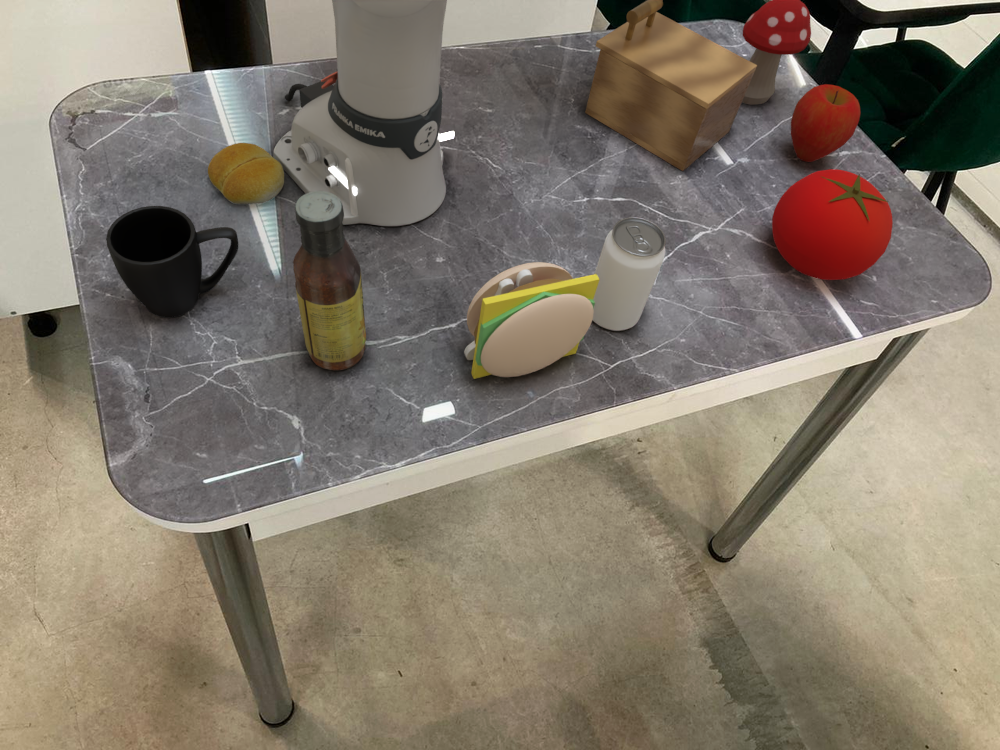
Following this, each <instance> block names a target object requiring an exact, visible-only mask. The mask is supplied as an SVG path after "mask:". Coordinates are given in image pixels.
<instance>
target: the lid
mask: <svg viewBox="0 0 1000 750" xmlns="http://www.w3.org/2000/svg"><path fill="white" fill-rule="evenodd" d="M663 6H664V2H663V0H645V1H643V2H642V3H640V4H639V5H637V6H635V7H634V8H633V9H631V10H629V11H628V12H627V14H626V22H625V23H623V24H622V25H620V26H618V27H617V28H615V29H613V30H612V31H610V32H608V33H607V34H606V35H604V36H603V37H601V38H599V39H598V40H596V42H595V47H596V48H597V49H600V50H603V51H605V52H606V53H608V54H610V55H612V56H613V57H615V58H617V59H619V60H621V61H622V62H624V63H626V64H628V65H629V66H631V67H633V68H635V69H636V70H638V71H640V72H642V73H644V74H645V75H647V76H649V77H651V78H652V79H654V80H656V81H658V82H660V83H661V84H663V85H665V86H667V87H668V88H670V89H672V90H674V91H676V92H677V93H679V94H681V95H683V96H684V97H686V98H688V99H690V100H691V101H693V102H695V103H697V104H699V105H700V106H702V107H704V108H706V109H707V108H709V107H710V106H711V105H712V104H714V103H715V102H716V101H717V100H719V99H720V98H721V97H722V96H724V95H725V94H726V93H727V92H729V91H730V90H731V89H732V88H734V87H735V86H736V85H737V84H739V83H740V82H741V81H742V80H744V79H745V78H746V77H748V76H749V75H750V74H751V73H753V72H754V71H755V70H756V67H757V65H756V64H754V63H752V62H750V61H749V60H748V59H746V58H745V57H743V56H741V55H738V54H737V53H735V52H733V51H731V50H729V49H728V48H726V47H724V46H722V45H720V44H718V43H716V42H714V41H712V40H710V39H709V38H706V37H705V36H703V35H701V34H699V33H697V32H695V31H693V30H692V29H690V28H688V27H686V26H684V25H682V24H681V23H678V22H676V21H675V20H673V19H671V18H669V17H667V16H665V15H663V14H661V13H660V12H658V11H659V10H661V9H662V7H663Z"/></svg>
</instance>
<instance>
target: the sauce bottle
mask: <svg viewBox="0 0 1000 750" xmlns="http://www.w3.org/2000/svg"><path fill="white" fill-rule="evenodd" d="M294 210H295V211H294V212H295V219H296V223H298V225H299V229H300V243H301V245H300V247H299V249H298V250H297V252H296V253H295V254H294V257H293V260H292V265H293V267H292V268H293V274H294V280H295V284H294V287H295V293H296V298H297V303H298V311H299V316H300V321H301V326H302V332H303V337H304V344H305V347H306V350H307V352H308V355H309V357H310V359H311V361H312V362H313V363H314V364H315V365H316V366H318V367H319V368H322V369H324V370H331V371H334V372H335V371H343V370H347V369H349V368H352V367H354V366H355V365H356V364H358V363H359V362H360V361H361V359H362V358H363V356H364V353H365V350H366V342H367V331H366V319H365V307H364V292H363V291H364V290H363V282H362V281H363V279H362V270H361V265H360V262H359V260H358V259H357V257H356V255H355V253H354V251H353V249H352V248H351V246H350V244H349V242H348V240H347V239H346V236H345V233H344V225H343V223H342V222H343V218H344V211H343V205H342V203H341V201H340V199H339V198H338V197H337V196H336V195H334V194H332V193H329V192H324V191H317V192H309V193H307V194H305V193H304V194H303V195H301V196H300V197H298V199H297V201H296V203H295V205H294Z"/></svg>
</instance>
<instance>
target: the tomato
mask: <svg viewBox="0 0 1000 750" xmlns="http://www.w3.org/2000/svg"><path fill="white" fill-rule="evenodd" d="M772 213H773V214H772V217H771V228H772V237H773V242H774V244H775V247H776V248H777V251H778V252H779V254H780V255H781V257H782V259H784V260H785V261H786V262H787V263H788V265H789V266H790V267H791V268H793V269H794V270H795V271H797V272H799V273H801V274H802V275H805V276H806V277H807V276H808V277H810V278H813V279H817V280H822V281H823V280H824V281H836V280H838V281H840V280H846V279H850V278H854V277H857V276H859V275H862V274H863V273H864V272H866V271H867V270H869V269H870V268H871V267H872V266H874V265H875V264H876V263H877V262H878V261H879V259H880V258H881V257H882V256H883V255H884V254H885V252H886V250H887V248H888V246H889V243H890V242H891V239H892V233H893V224H894V223H893V213H892V209H891V207H890V204H889V201H888V200H886V198H885V196H884V195H883V194H882V193H881V192H880V191H879V190H878V189H877V188H876V186H874V185H873V183H871V182H870V181H868V180H867V179H865V178H864V177H862V176H861V175H860V174H856V173H853V172H851V171H847V170H843V169H837V168H834V169H833V168H829V169H823V170H817V171H814V172H811V173H810V174H808V175H806V176H804V177H802V178H801V179H799V180H797V181H795V183H793V184H792V185H790V186H789V187H788V188H787V189H786V191H785V192H784V193H783V194H782V195H781V196H780V198H779V200H778V201H777V203H776V205H775V207H774V210H773V212H772Z"/></svg>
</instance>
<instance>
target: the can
mask: <svg viewBox="0 0 1000 750" xmlns="http://www.w3.org/2000/svg"><path fill="white" fill-rule="evenodd" d="M666 242H667V239H666V235H665V233H664V231H663V230H662V229H661V227H660V226H658V224H656V223H654V222H653V221H651V220H649V219H647V218H643V217H637V216H629V217H625V218H622V219H619V220H618V221H616V223H615V224H614V225H613V228H612V229H611V230H610V231H609V232H608V233H607V235H606V236H605V240H604V243H603V245H602V249H601V251H600V254H599V258H598V261H597V264H596V267H595V271H594V274H597V276H598V277H599V279H600V280H599V283H598V286H597V289H596V292H595V295H594V299H593V300H594V302H595V305H594V308H593V311H594V313H593V320H592V322H593V323H595V324H596V325H597V326H599V327H601V328H603V329H605V330H608V331H614V332H620V331H625V330H628V329H631V328H633V327H635V326H636V325H637V323H638V322H639V321H640V318H642V317H641V316H642V314H643V312H644V309H645V307H646V305H647V302H648V300H649V297H650V295H651V292H652V290H653V287H654V285H655V283H656V280H657V277H658V275H659V273H660V271H661V267H662V265H663V262H664V260H665V256H666V244H667V243H666Z"/></svg>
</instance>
